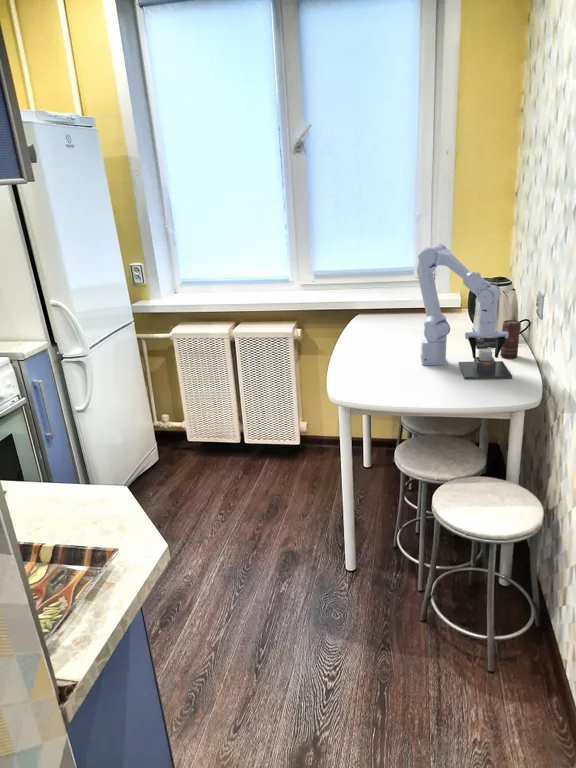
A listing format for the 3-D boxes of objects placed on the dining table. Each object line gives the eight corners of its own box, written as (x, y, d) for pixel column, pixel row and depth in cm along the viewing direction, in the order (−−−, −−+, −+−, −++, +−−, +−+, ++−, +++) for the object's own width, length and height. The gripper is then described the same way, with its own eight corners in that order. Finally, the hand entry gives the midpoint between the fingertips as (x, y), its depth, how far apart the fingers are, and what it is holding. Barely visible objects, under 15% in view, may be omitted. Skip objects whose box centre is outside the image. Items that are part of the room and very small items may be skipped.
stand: (464, 379, 198) (465, 367, 197) (458, 364, 213) (458, 353, 212) (511, 379, 196) (513, 366, 194) (502, 363, 211) (503, 352, 209)
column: (479, 372, 203) (480, 352, 200) (477, 368, 207) (478, 348, 204) (491, 372, 202) (492, 352, 199) (489, 368, 206) (490, 348, 203)
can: (519, 359, 214) (522, 323, 209) (501, 359, 215) (504, 323, 210) (516, 354, 219) (519, 319, 214) (499, 354, 221) (501, 319, 216)
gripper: (467, 324, 195) (465, 361, 200) (511, 323, 193) (508, 360, 198) (464, 319, 202) (463, 354, 207) (507, 317, 199) (504, 354, 204)
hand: (485, 357), depth 203 cm, fingers open, 7 cm apart
